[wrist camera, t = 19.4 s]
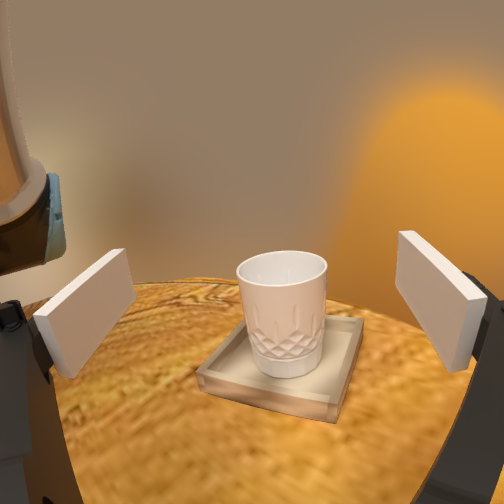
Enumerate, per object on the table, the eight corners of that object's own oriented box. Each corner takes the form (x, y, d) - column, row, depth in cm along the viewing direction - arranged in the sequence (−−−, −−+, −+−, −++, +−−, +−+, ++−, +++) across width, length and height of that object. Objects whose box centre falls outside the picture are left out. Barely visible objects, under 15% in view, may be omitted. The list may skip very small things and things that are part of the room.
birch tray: (200, 390, 29) (195, 371, 28) (257, 323, 40) (255, 305, 39) (335, 423, 23) (337, 404, 23) (362, 337, 34) (364, 318, 34)
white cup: (232, 364, 31) (217, 273, 28) (280, 328, 37) (273, 246, 33) (297, 394, 26) (293, 294, 23) (340, 348, 32) (343, 257, 28)
